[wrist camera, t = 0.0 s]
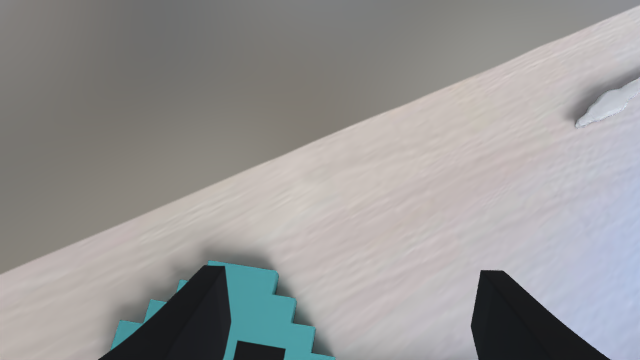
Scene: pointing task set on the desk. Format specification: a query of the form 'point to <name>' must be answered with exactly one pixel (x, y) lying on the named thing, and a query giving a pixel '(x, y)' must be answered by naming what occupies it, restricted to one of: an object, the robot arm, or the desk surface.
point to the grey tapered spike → (609, 103)
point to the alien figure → (252, 319)
